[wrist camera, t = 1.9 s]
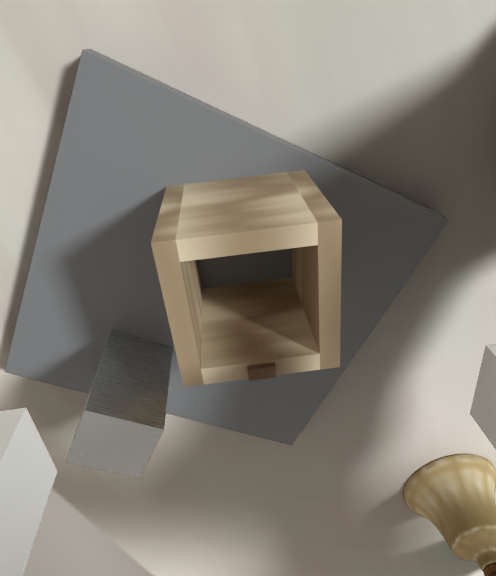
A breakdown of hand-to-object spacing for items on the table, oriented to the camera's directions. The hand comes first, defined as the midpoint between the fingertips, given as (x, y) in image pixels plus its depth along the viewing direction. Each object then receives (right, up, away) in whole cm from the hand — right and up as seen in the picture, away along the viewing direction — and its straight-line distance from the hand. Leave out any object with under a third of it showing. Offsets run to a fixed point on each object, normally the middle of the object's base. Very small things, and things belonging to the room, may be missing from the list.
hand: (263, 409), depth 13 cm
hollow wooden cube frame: (-1, +6, +11) cm, 12 cm away
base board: (-3, +4, +14) cm, 14 cm away
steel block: (-8, 0, +16) cm, 17 cm away
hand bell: (+17, -14, +26) cm, 34 cm away
